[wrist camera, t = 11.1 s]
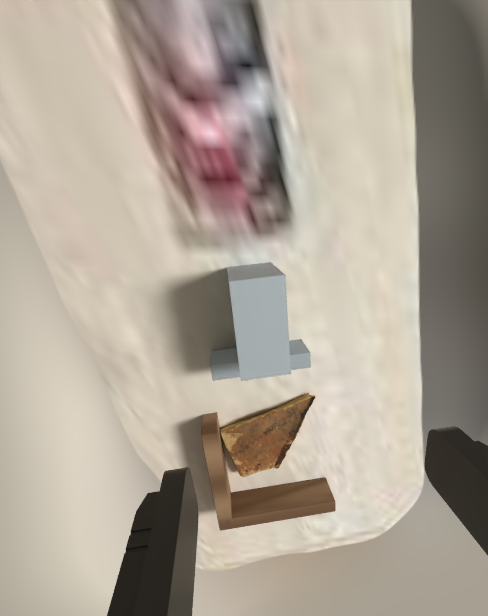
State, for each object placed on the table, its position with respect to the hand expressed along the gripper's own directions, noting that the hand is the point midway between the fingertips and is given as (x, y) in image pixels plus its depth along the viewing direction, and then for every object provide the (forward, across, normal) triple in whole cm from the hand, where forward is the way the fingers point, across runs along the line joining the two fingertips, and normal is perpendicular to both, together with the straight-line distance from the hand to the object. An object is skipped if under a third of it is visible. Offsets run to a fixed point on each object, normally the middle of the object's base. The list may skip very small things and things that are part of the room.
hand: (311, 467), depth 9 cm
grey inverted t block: (+18, 0, 0) cm, 18 cm away
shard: (+19, +1, +14) cm, 24 cm away
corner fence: (+18, 0, +19) cm, 26 cm away
